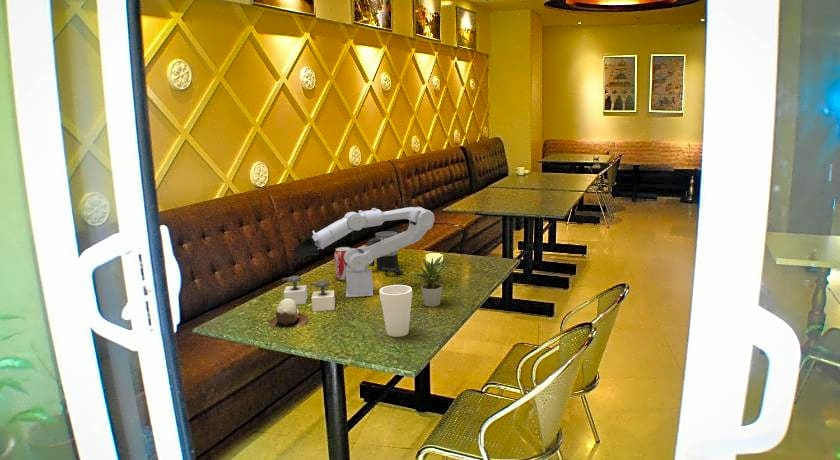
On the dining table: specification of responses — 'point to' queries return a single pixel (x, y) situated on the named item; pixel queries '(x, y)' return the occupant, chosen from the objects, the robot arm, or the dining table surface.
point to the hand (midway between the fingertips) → (295, 254)
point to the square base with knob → (296, 294)
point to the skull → (288, 315)
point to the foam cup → (396, 308)
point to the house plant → (431, 282)
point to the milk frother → (388, 260)
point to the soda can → (340, 263)
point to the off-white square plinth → (323, 301)
